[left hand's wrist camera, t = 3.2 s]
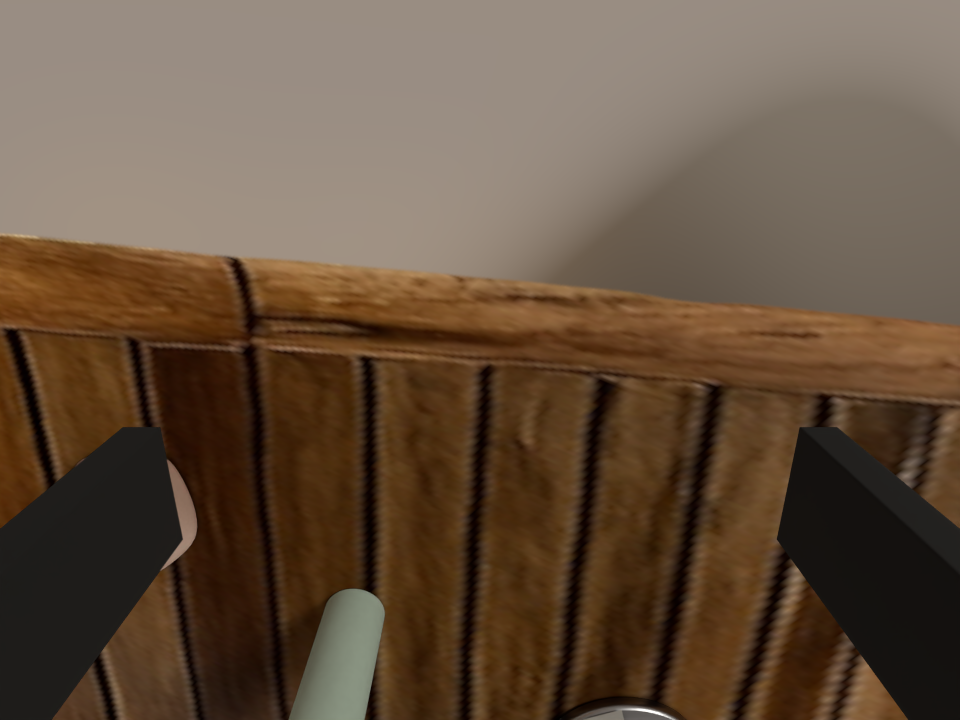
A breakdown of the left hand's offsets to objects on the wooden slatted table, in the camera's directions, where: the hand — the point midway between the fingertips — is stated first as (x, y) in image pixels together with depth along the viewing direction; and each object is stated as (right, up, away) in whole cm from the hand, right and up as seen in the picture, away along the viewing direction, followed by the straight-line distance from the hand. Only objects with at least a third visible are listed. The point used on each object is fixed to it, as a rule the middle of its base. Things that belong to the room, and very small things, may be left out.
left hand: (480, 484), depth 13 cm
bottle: (-11, -19, +40) cm, 46 cm away
